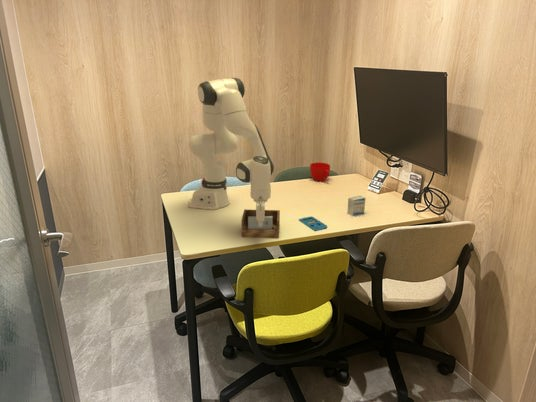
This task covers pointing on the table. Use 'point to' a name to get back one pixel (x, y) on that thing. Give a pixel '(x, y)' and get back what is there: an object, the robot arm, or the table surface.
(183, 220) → the table surface
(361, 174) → the table surface
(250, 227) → the door
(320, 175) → the ceramic cup
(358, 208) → the medicine box
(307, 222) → the handheld gaming device
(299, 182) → the table surface
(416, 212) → the table surface
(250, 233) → the wooden box
